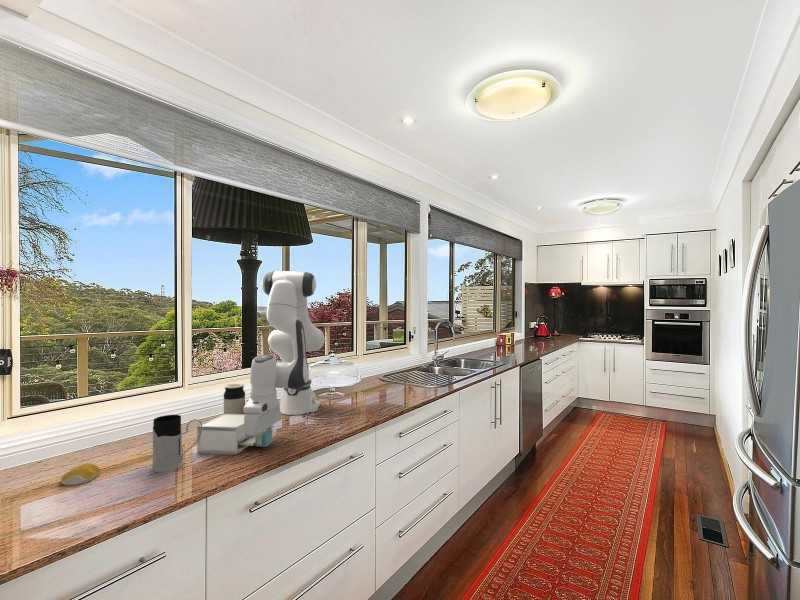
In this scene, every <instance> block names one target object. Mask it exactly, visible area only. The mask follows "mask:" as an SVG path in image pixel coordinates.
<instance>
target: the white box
mask: <svg viewBox="0 0 800 600" xmlns="http://www.w3.org/2000/svg"><path fill="white" fill-rule="evenodd" d="M244 416H245V414H224V413H223V414H221V415H218V416H217V417H214V418H212V419H210V420H208V421H206V422H203V423H202V432H201V436H200V438H199V440H198V441H197V443H196V446H197V447H196V448H197V449H196V451H197V454H213V455H235V456H237V455H238V454H239V453H241V452H242V451H243V450H245V449H247V448H248V447H249V446H247V445H238V443H240V442H241V441H243V440H245V439H246V438H248V437H249V436H246V435H245V433H244ZM196 429H197V433H196V435H197V437H196V438H197V439H198V437H199V435H200V431H201V424H200V425H198V426H197V428H196ZM197 439H196V440H197Z"/></svg>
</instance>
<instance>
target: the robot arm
mask: <svg viewBox="0 0 800 600" xmlns="http://www.w3.org/2000/svg"><path fill="white" fill-rule="evenodd" d="M261 285H262V286H261V287H262V290H263V292H264V293H265V294H266V295H267V296H268V301H267V305H266V320H267V323H268V324H269V325H270V327H272V328H274V329H275V330H272V331H271V332H270V333H269V335H268V337H267V343H268V346H269V348H270V349H271V351H273V352H274V353H276V354H277V356H279V358H280V359H281V361H277V360H276V359H275V356H274V355H272V354H271V355H270V354H261V355H258V356H255V357H254V358H253V359H252V361H251V367H250V379H249V380H250V382H249V383H250V386H251V391H250V393H249V394H250V398H249V399H248V400H249V401H248V402H247V401H246V402H245V406H244V407H243V412H244V413H246V414H245V416H244V433H245V435H246V436H250V437H255V438H256V443H257V445H261V444H262V443H263V438H262V436H261V435H262V432H263V431H272V430H273V428H274V426H273V425H275V424H276V423H278V422H279V421H280V420H281V414H283V415H289V416H298V415H304V414H305V413H306V414H309V412H311V413H316V412H317V411H318V410H319V408H318V407H320V406H321V402H319V401H317V400H316V398H317V397H316V393H315V392H314V390H312V388H311V384H312V379H311V378H310V366H309V363H308V360H307V352H314V351H318V350H319V351H320V350H321V349H322V348H323V346H324V344H325V342H326V341H325V339H326V338H325V335H324V333H323V331H322V330H321V329H319V328H318V327H316V326H315V325H314V323H313V322H312V321H311V319H310V317H309V309H308V297H312V296H313V295H314V294H315V291H316V287H317V280H316V278H315V276H314V274H313V273H310V272H308V271H305V272H303V271H296V270H283V271H279V270H278V271H275V270H271V271H270V270H269V271H267V272H266V273H265V274H264V275H263V278H262V281H261ZM309 378H310V379H309ZM277 389H283V391H282V392H281V395H280V402H279V401H278V396H277V395H278V393H277ZM317 409H318V410H317ZM315 411H316V412H315ZM272 432H273V431H272Z"/></svg>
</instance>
